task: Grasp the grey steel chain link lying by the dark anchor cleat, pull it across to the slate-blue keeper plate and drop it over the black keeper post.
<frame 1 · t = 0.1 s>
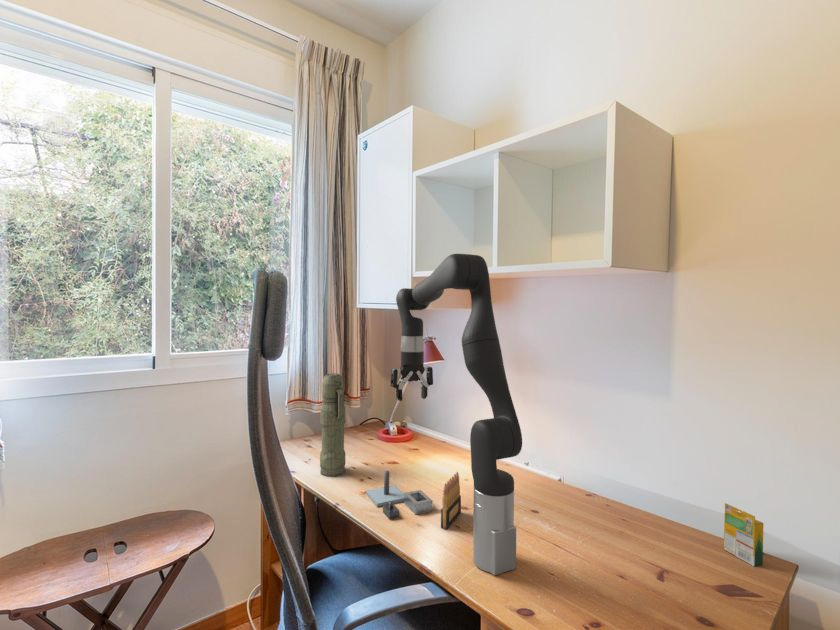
hand: (412, 399, 138), 29 cm above the table, fingers open, 8 cm apart
keeper: (386, 497, 132), on the table
crayon box: (742, 557, 101), on the table
steel link: (417, 506, 125), on the table
ammunition clip: (451, 520, 118), on the table
thermos: (332, 472, 152), on the table
anchor cleat: (390, 514, 120), on the table
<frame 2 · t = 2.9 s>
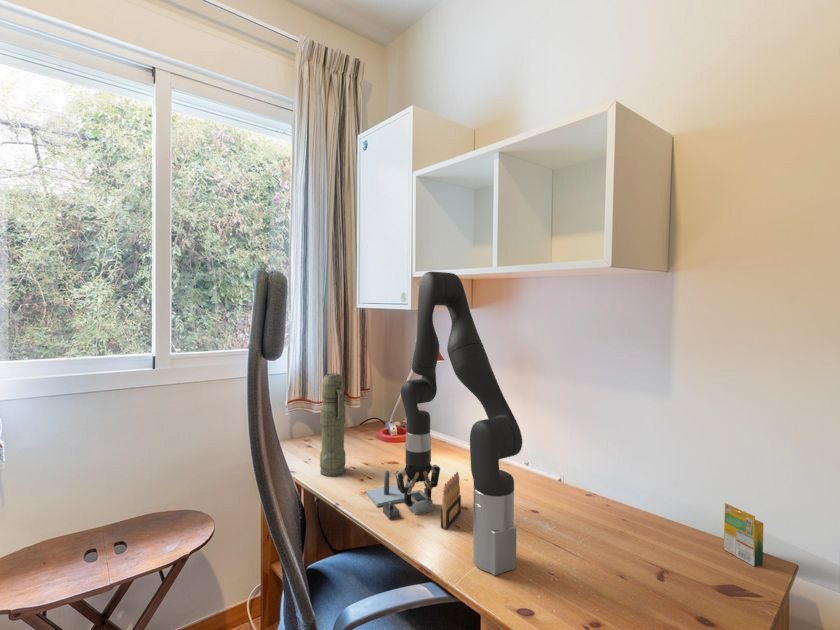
hand: (417, 503, 125), 1 cm above the table, fingers closed on steel link, 5 cm apart
steel link: (417, 506, 125), on the table, touching gripper
everything else where it was.
when the fingers open (5 cm above the table, at t = 7.4 s): steel link drops 3 cm, resting on keeper.
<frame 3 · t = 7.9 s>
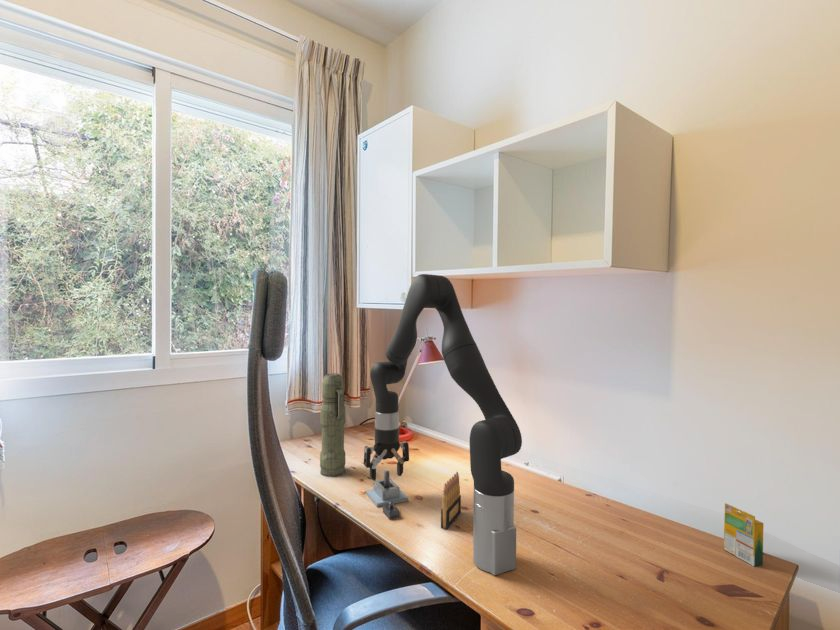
hand: (386, 477, 132), 6 cm above the table, fingers open, 8 cm apart
steel link: (386, 493, 132), point 1 cm above the table, touching keeper
everything else where it was.
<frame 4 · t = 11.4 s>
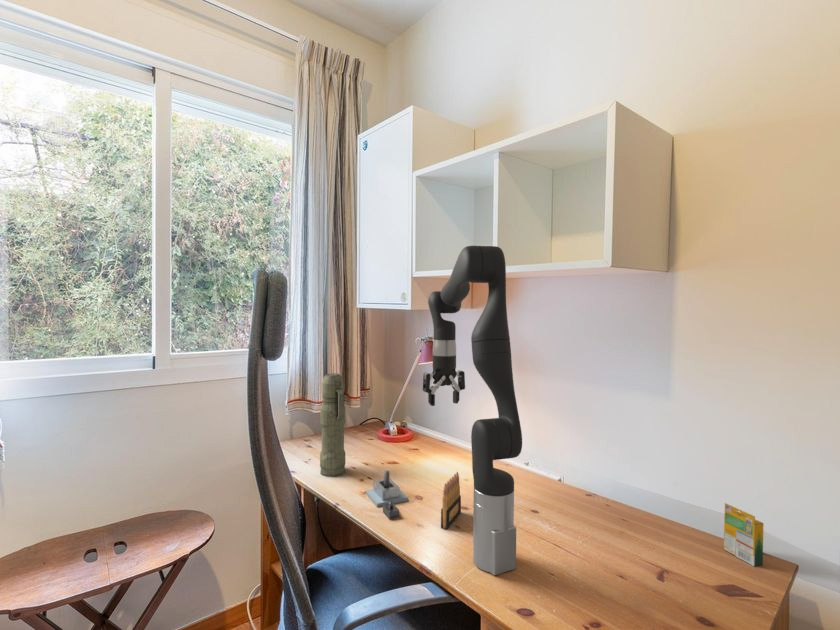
hand: (444, 404, 136), 28 cm above the table, fingers open, 8 cm apart
nothing on the table moved.
at the end: steel link 0.1 cm off-centre on the keeper, point 1.0 cm above the keeper's base; the gripper is holding nothing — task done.
